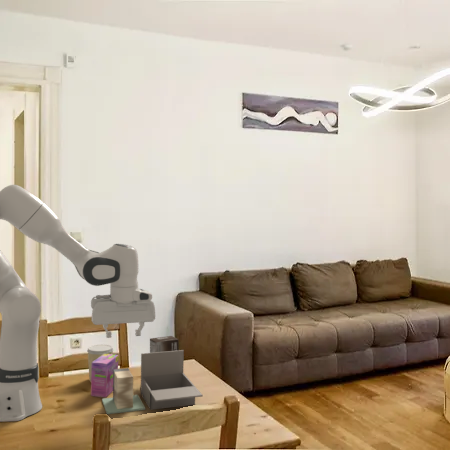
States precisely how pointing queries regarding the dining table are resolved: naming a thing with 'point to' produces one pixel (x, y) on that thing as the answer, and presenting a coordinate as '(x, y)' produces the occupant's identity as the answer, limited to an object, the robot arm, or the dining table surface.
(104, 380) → the box
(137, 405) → the mat
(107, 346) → the coffee cup
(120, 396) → the capped box
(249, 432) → the dining table surface
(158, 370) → the carton
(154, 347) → the coffee box
